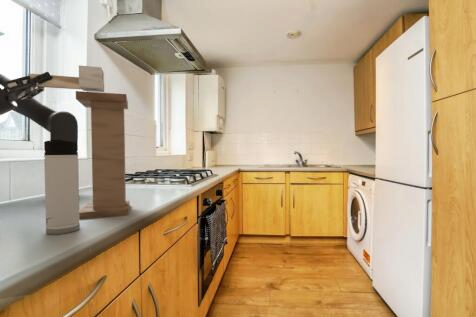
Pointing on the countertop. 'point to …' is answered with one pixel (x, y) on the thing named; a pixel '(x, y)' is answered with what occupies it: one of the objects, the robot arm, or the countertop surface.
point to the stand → (106, 154)
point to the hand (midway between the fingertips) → (52, 76)
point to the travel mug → (61, 186)
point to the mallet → (78, 80)
